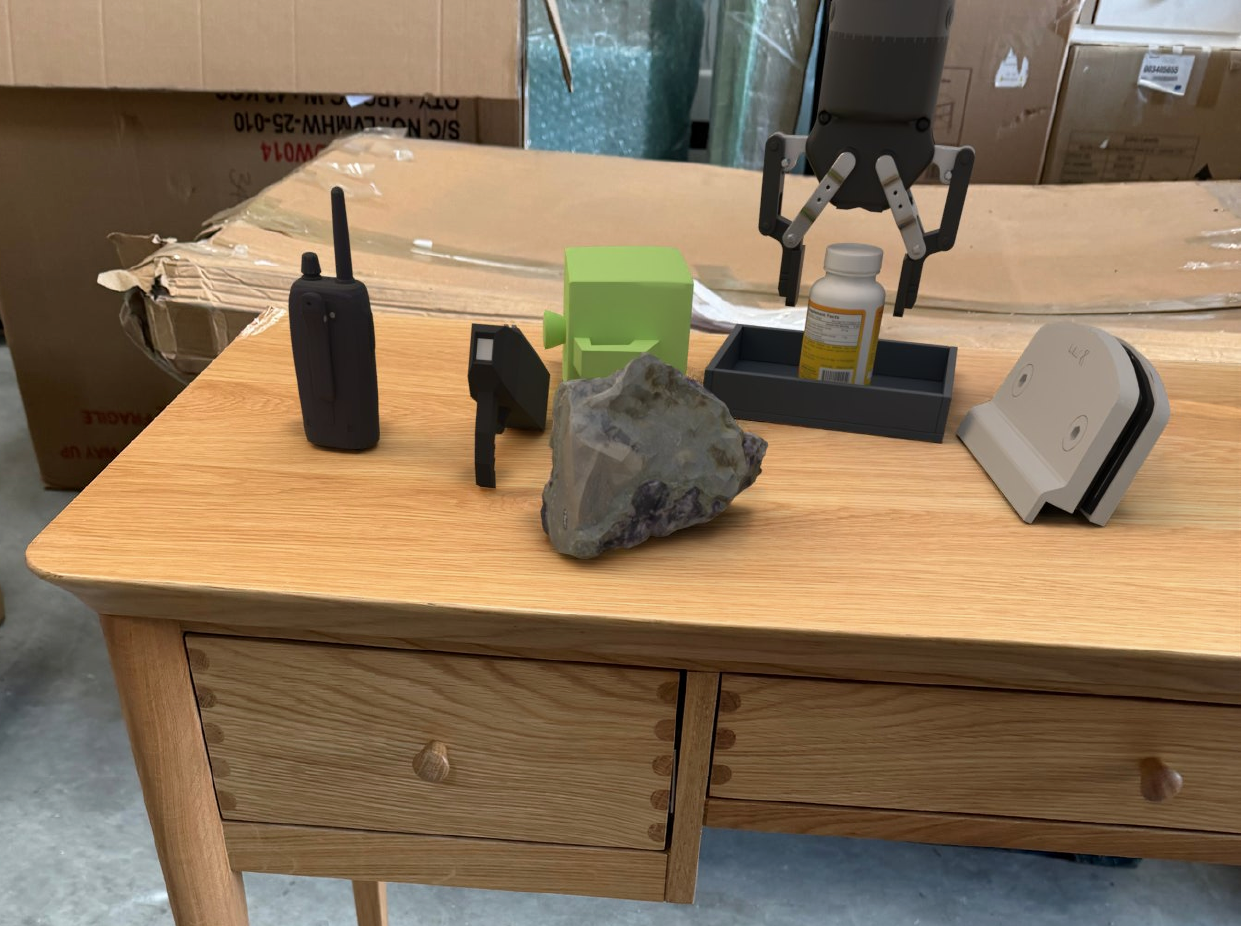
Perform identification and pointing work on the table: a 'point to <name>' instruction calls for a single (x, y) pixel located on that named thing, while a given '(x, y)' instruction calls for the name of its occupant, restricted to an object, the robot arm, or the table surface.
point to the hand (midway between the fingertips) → (844, 308)
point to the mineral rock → (641, 458)
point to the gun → (503, 390)
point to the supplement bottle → (844, 316)
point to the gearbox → (621, 309)
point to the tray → (834, 386)
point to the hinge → (1069, 422)
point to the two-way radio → (335, 347)
